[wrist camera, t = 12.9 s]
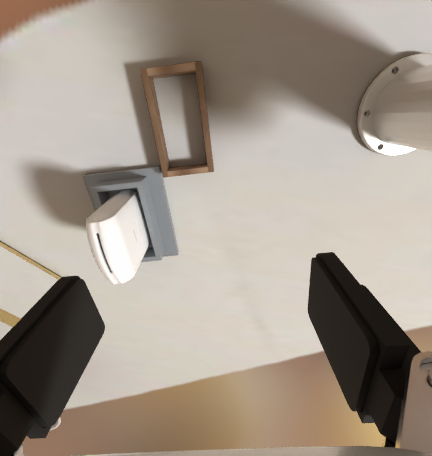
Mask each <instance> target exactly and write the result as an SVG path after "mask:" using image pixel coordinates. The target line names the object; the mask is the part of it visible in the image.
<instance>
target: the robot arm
mask: <svg viewBox="0 0 432 456" xmlns="http://www.w3.org/2000/svg"><path fill="white" fill-rule="evenodd" d="M364 113H365V115H364ZM357 126H358V131H359V135H360V137H361V139H362V141H363V143H364V144H365V145H366V146H367V147H368V148H369V149H370V150H372V151H374V152H376V153H379V154H383V155H391V156H394V155H402V154H405V153H408V152H411V151H413V150H415V149H421V150H427V151H432V54H430V53H419V54H415V55H411V56H408V57H405V58H402V59H399V60H398V61H396V62H394V63H392V64H390V65H389V66H388V67H387V68H385V69H384V70H383V71H382V72H381V73H380V74H379V75H378V76H377V77H376V78H375V79H374V80H373V81H372V83H371V84H370V86H369V87H368V88H367V90H366V92H365V94H364V96H363V98H362V101H361V104H360V107H359V111H358V119H357ZM308 314H309V317H310V320H311V322H312V324H313V326H314V329H315V331H316V333H317V335H318V338H319V340H320V342H321V344H322V347H323V349H324V351H325V353H326V355H327V358H328V360H329V362H330V365H331V367H332V369H333V371H334V374H335V376H336V378H337V380H338V383H339V385H340V387H341V389H342V392H343V394H344V396H345V399H346V401H347V403H348V405H349V407H350V409H351V410H352V411H357V413H358V415H359V417H360V419H361V421H362V423H375V424H376V426H377V428H378V430H379V432H380V433H381V434H382V435H383V436H384V438H383V444H382V447H370V446H325V447H281V448H280V447H279V448H250V449H222V450H195V451H170V452H145V453H120V454H97V455H74V456H432V352H430V351H427V352H421V351H420V350H419V349H418V348H417V347H416V345H415V344H414V343H413V342H412V341H411V339H410V338H409V337H408V336H407V335H406V334H405V332H404V331H403V330H402V329H401V328H400V326H399V325H398V324H397V323H396V322H395V321H394V319H393V318H392V317H391V316H390V315H389V313H388V312H387V311H386V310H385V309H384V308H383V306H382V305H381V304H380V303H379V302H378V300H377V299H376V298H375V297H374V296H373V295H372V293H371V292H370V291H369V290H368V289H367V288H366V287H365V286H363V285H360V284H359V283H358V281H357V280H356V279H355V278H354V276H353V275H352V274H351V273H350V272H349V270H348V269H347V268H346V267H345V266H344V264H343V263H342V262H341V261H340V259H339V258H338V257H337V256H336V255H335V254H334V253H333V252H330V253H319V254H317V255H316V258H312V261H311V273H310V286H309V300H308ZM104 330H105V325H104V322H103V320H102V318H101V316H100V314H99V312H98V309H97V307H96V305H95V303H94V301H93V299H92V297H91V294H90V292H89V290H88V288H87V286H86V284H85V282H84V280H83V279H80V277H78V276H68V277H62V278H60V279H59V280H58V281H57V282H56V283H55V284H54V285H53V286H52V287H51V288H50V289H49V290H48V291H47V293H46V294H45V295H44V296H43V297H42V298H41V299H40V300H39V301H38V302H37V303H36V304H35V305H34V306H33V307H32V308H31V309H30V310H29V311H28V312H27V313H26V314H25V315H24V316H23V317H22V319H21V320H20V321H19V322H18V323H17V324H16V325H15V326H14V327H13V328H12V329H11V330H10V331H9V332H8V333H7V334H6V335H5V336H4V337H3V338H2V339H1V340H0V456H23V446H22V442H23V441H24V439H25V437H26V436H28V437H29V438H30V439H31V438H46V436H47V434H48V432H49V430H50V429H51V427H52V426H53V425H55V423H56V422H57V421H58V419H59V417H60V416H61V414H62V412H63V410H64V408H65V406H66V404H67V402H68V400H69V398H70V396H71V395H72V393H73V391H74V389H75V387H76V385H77V383H78V381H79V379H80V377H81V375H82V374H83V372H84V370H85V368H86V366H87V364H88V362H89V360H90V358H91V356H92V354H93V353H94V351H95V349H96V347H97V345H98V343H99V341H100V339H101V337H102V335H103V333H104Z"/></svg>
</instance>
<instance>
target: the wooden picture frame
mask: <svg viewBox="0 0 432 456" xmlns="http://www.w3.org/2000/svg"><path fill="white" fill-rule="evenodd" d="M140 71H141V76H142V80H143V85H144V90H145V94H146V99H147V104H148V108H149V113H150V118H151V123H152V127H153V132H154V137H155V141H156V146H157V151H158V155H159V160H160V165H161V169H162V174H163V177H172V176H180V175H189V174H198V173H207V172H214V167H213V158H212V150H211V141H210V132H209V123H208V115H207V106H206V97H205V88H204V80H203V71H202V64H201V61H197V62H190V63H182V64H175V65H167V66H160V67H152V68H145V69H140ZM192 73H196V78H197V86H198V94H199V102H200V110H201V118H202V126H203V134H204V142H205V150H206V158H207V164H201V165H192V166H183V167H175V168H170V164H169V159H168V154H167V149H166V144H165V139H164V134H163V129H162V124H161V118H160V113H159V108H158V103H157V98H156V93H155V88H154V83H153V79H154V78H162V77H169V76H177V75H184V74H192Z"/></svg>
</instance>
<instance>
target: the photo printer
mask: <svg viewBox="0 0 432 456" xmlns="http://www.w3.org/2000/svg"><path fill="white" fill-rule="evenodd" d="M86 231H87V236H88V241H89V244H90V248H91V251H92V253H93V257H94V258H95V261H96V263H97V265H98V267H99V269H100V270H101V272H102V274H103V275H104V276H105V278H106V279H107V280H108V281H109V282H110V283H112V284H117V283H121V284H122V283H125V282H127V281H128V280H130V279H131V278H132V277H133V276H134V275H135V273H136V271H137V269H138V267H139V265H140V263H141V261H142V259H143V257H144V254H145V252H146V250H147V248H148V246H149V244H150V234H149V230H148V226H147V222H146V218H145V215H144V211H143V207H142V204H141V200H140V197H139V195H138V193H137V192H135V191H133V190H129V189H125V190H122V191H120V192H119V193H118V194H115V195H114V196H112V197H111V198H110V199H109V200H108V201H107V202H106V203H104V204H103V205H102V206H101V207H100V208H99V209H97V210H96V211H95V212H94V213H93V214H91V215H90V216H89V217H88V218H87V219H86Z"/></svg>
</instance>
